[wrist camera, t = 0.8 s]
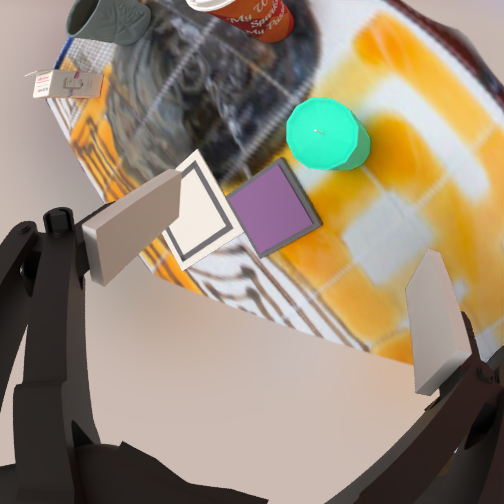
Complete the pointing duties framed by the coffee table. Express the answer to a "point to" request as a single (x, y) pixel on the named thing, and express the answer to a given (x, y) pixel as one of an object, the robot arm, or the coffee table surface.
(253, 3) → the paper cup
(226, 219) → the marked card
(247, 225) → the ink pad
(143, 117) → the coffee table surface
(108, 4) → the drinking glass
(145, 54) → the coffee table surface
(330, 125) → the candle
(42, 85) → the ink cartridge box
